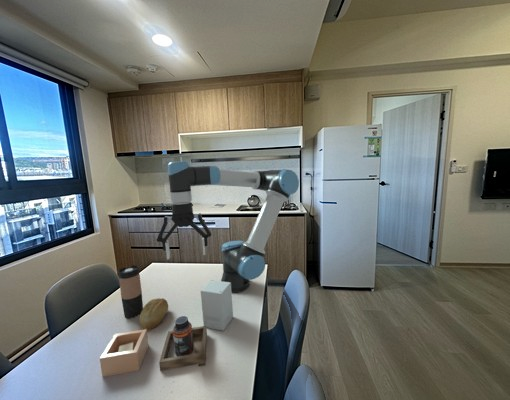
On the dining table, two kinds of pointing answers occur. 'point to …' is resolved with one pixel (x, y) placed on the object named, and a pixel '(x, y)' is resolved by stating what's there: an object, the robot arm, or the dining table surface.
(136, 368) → the light wooden box
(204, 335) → the walnut bin
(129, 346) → the maple cube
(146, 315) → the bread roll
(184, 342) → the supplement bottle
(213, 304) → the supplement box
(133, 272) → the travel mug
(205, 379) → the dining table surface
